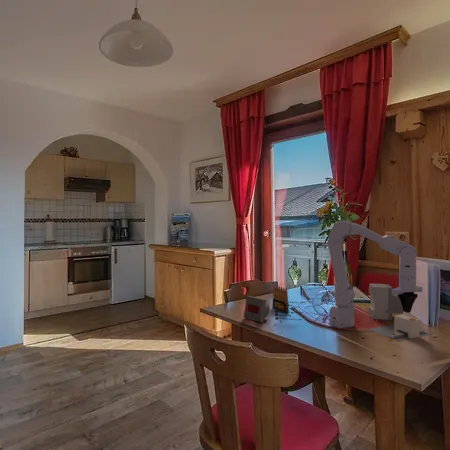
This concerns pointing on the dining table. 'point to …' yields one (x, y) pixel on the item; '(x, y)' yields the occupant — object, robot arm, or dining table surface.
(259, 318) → the voltmeter
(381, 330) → the board
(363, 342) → the dining table surface
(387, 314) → the circuit breaker
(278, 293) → the ammunition clip
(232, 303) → the dining table surface
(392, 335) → the din rail
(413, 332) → the block
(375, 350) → the dining table surface
